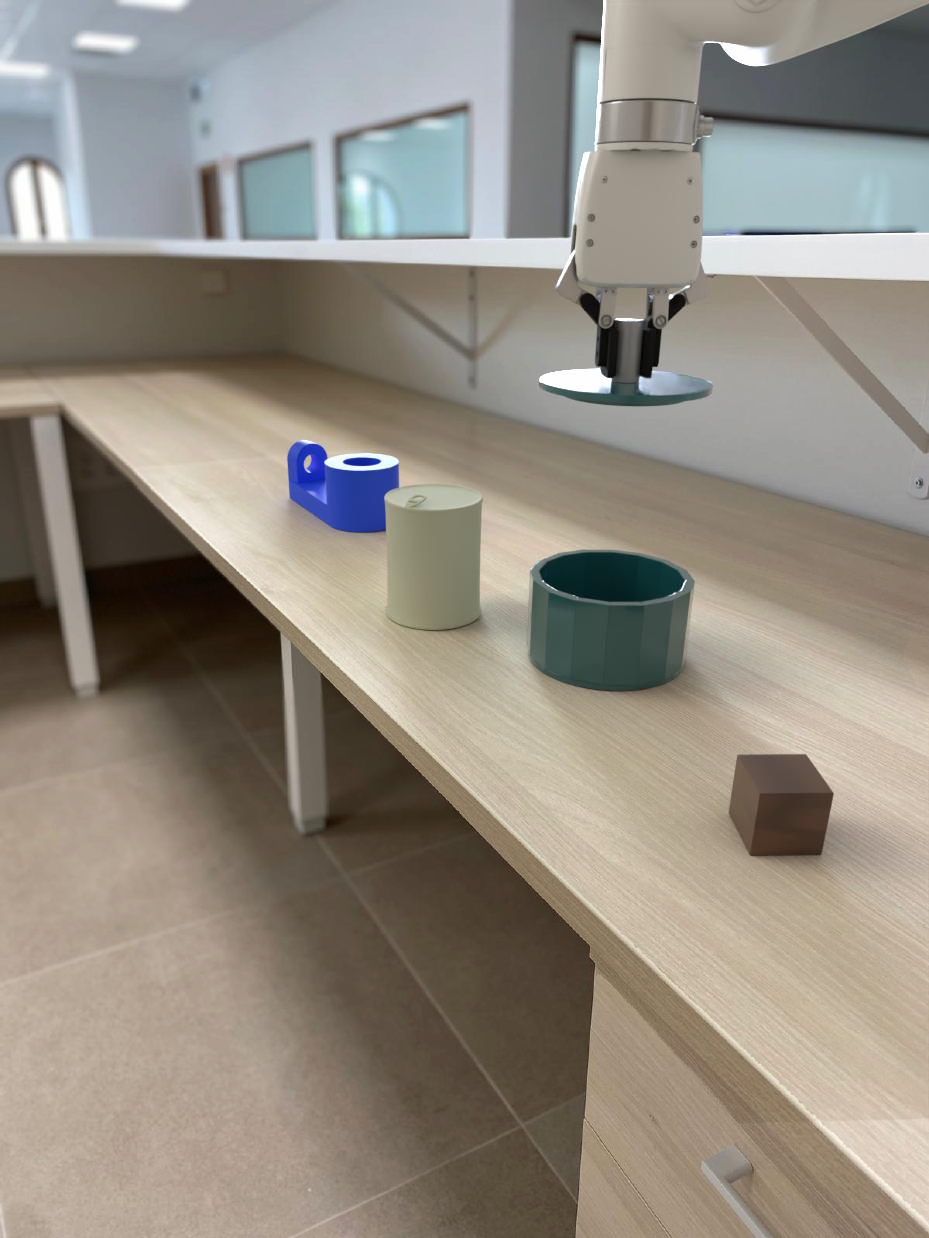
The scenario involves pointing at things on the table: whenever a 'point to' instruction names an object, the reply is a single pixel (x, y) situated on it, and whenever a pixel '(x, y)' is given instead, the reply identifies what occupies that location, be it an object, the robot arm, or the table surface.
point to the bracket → (342, 486)
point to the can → (433, 555)
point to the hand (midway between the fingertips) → (625, 374)
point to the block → (780, 804)
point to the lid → (626, 378)
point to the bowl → (609, 619)
